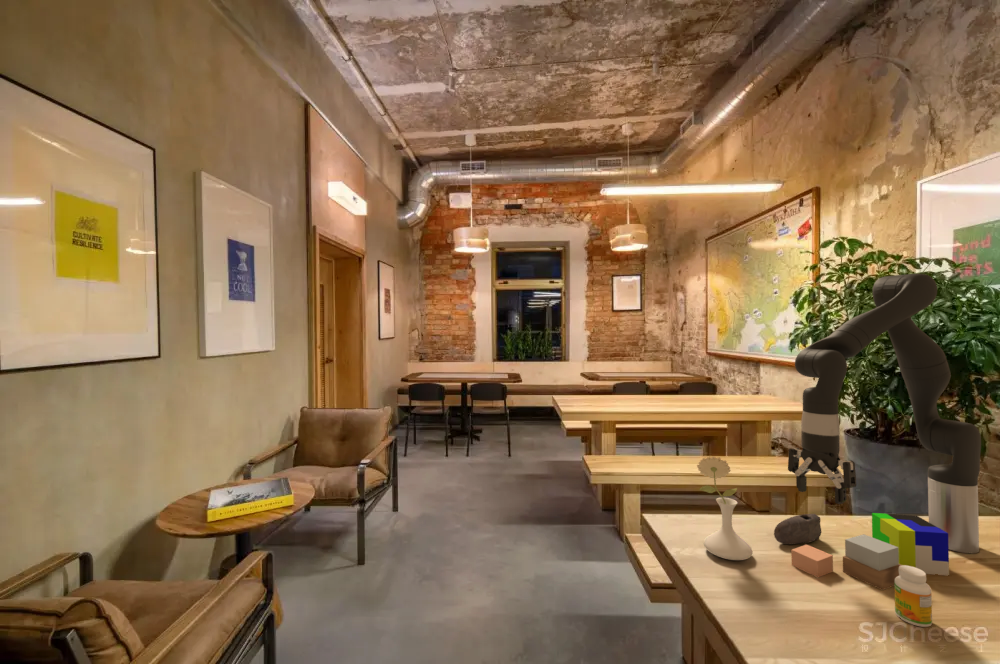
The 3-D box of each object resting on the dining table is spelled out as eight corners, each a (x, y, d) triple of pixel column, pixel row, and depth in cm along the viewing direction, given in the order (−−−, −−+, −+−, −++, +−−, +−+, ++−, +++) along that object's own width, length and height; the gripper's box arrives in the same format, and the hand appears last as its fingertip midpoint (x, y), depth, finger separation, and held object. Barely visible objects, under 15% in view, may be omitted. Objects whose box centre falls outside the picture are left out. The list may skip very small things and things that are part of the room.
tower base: (863, 565, 107) (862, 549, 107) (903, 582, 99) (903, 565, 99) (843, 573, 104) (842, 556, 104) (882, 591, 96) (882, 573, 96)
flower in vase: (757, 552, 113) (755, 457, 113) (746, 570, 105) (744, 467, 105) (705, 537, 122) (703, 448, 122) (690, 552, 114) (689, 458, 114)
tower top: (864, 550, 106) (863, 534, 106) (898, 564, 100) (898, 547, 100) (845, 556, 104) (845, 539, 104) (879, 570, 97) (878, 553, 97)
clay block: (806, 560, 109) (806, 544, 109) (833, 571, 104) (832, 555, 104) (791, 565, 107) (791, 549, 107) (817, 578, 102) (817, 561, 102)
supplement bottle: (887, 611, 89) (886, 564, 89) (911, 609, 90) (910, 562, 90) (914, 628, 84) (913, 578, 84) (940, 626, 84) (939, 577, 84)
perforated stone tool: (782, 549, 114) (781, 523, 115) (766, 540, 120) (766, 515, 120) (829, 543, 117) (828, 517, 117) (811, 534, 123) (811, 510, 123)
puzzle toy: (949, 575, 101) (948, 533, 101) (899, 571, 103) (898, 530, 103) (917, 554, 111) (916, 515, 111) (872, 551, 113) (871, 512, 113)
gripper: (862, 435, 101) (863, 505, 100) (800, 424, 114) (800, 485, 114) (843, 438, 98) (843, 510, 98) (781, 426, 111) (781, 489, 111)
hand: (820, 497), depth 106 cm, fingers open, 8 cm apart
